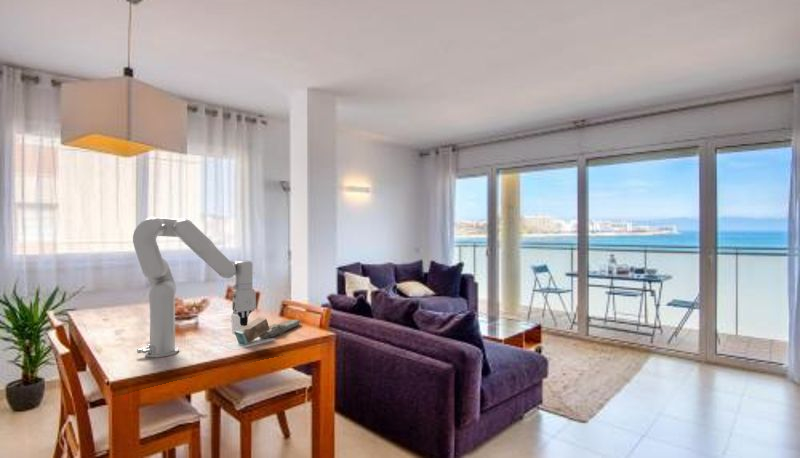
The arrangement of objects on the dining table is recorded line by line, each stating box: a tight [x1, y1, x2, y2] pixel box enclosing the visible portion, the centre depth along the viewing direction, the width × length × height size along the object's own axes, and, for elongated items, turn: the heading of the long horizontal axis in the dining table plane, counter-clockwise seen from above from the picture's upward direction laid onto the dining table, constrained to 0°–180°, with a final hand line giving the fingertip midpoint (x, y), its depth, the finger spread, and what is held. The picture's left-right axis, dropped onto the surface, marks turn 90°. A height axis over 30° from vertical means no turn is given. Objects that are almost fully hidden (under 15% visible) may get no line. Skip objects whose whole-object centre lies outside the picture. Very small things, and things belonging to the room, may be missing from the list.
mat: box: [221, 337, 277, 351], centre depth 196 cm, size 22×12×1 cm, turn 142°
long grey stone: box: [259, 319, 301, 338], centre depth 217 cm, size 35×5×10 cm
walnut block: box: [234, 316, 270, 345], centre depth 198 cm, size 6×6×14 cm
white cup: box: [230, 312, 243, 335], centre depth 215 cm, size 8×8×10 cm
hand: (243, 325), depth 194 cm, fingers closed
